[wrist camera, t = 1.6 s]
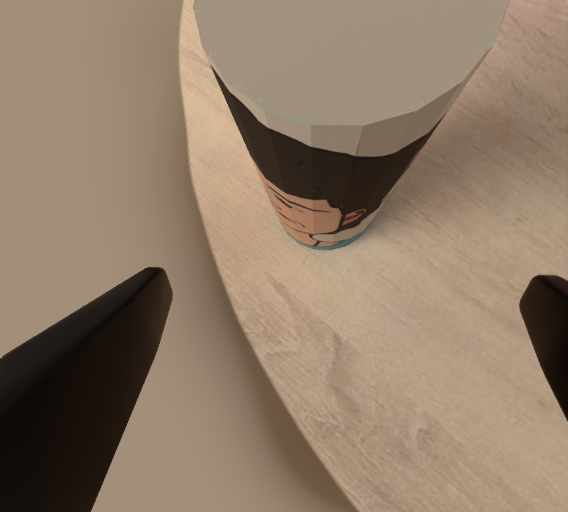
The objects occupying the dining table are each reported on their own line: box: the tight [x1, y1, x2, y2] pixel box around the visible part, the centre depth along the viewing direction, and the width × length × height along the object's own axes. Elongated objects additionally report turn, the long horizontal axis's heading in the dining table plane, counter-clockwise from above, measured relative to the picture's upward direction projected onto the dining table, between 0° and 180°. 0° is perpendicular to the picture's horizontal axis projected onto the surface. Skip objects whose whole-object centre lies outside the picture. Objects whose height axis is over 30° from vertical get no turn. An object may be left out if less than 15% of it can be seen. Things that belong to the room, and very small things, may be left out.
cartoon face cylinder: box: [193, 0, 510, 250], centre depth 14 cm, size 7×7×15 cm
